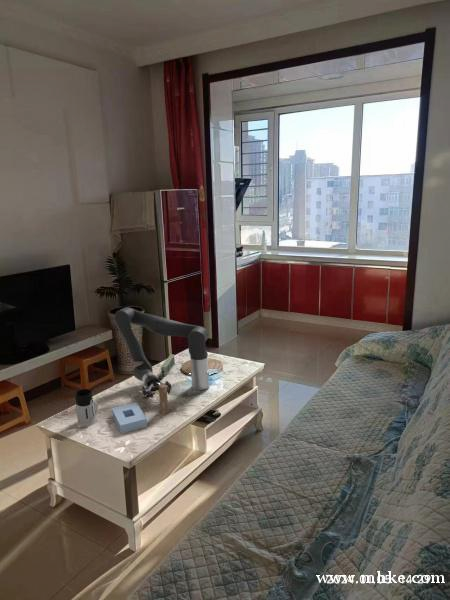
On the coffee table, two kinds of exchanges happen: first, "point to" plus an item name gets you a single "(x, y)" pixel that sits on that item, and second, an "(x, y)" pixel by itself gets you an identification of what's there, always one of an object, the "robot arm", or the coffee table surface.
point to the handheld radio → (167, 366)
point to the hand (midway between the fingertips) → (160, 393)
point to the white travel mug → (85, 408)
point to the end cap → (129, 417)
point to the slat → (163, 398)
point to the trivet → (211, 365)
